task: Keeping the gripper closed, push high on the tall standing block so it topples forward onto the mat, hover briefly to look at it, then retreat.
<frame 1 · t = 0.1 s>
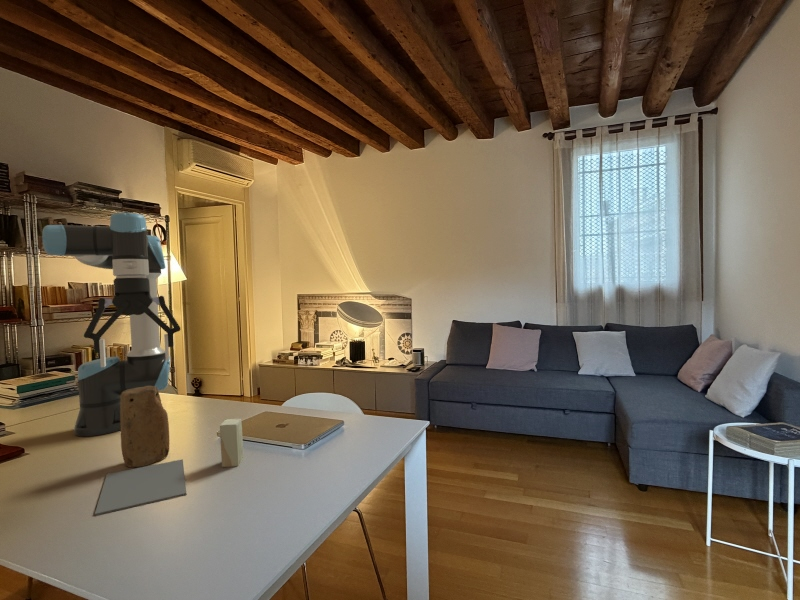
hand: (136, 363, 109), 28 cm above the table, fingers open, 13 cm apart
mat: (144, 484, 104), on the table
box: (232, 463, 115), on the table
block: (147, 462, 118), on the table
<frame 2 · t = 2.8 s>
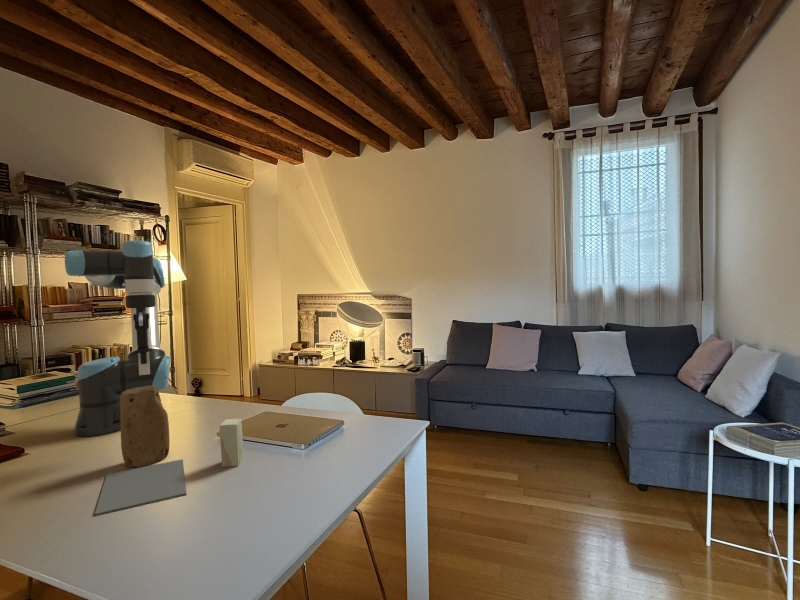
hand: (144, 374, 129), 21 cm above the table, fingers closed
nothing on the table moved.
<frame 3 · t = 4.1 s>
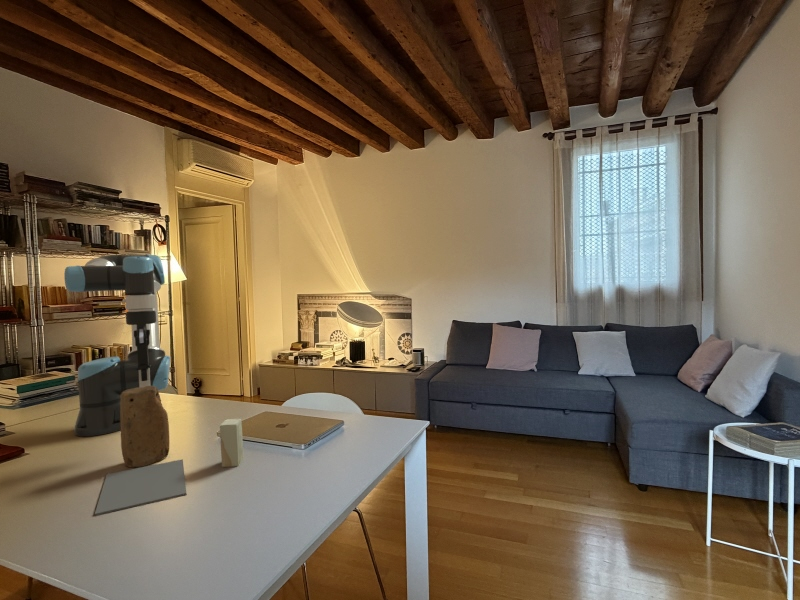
hand: (145, 391, 128), 17 cm above the table, fingers closed
nothing on the table moved.
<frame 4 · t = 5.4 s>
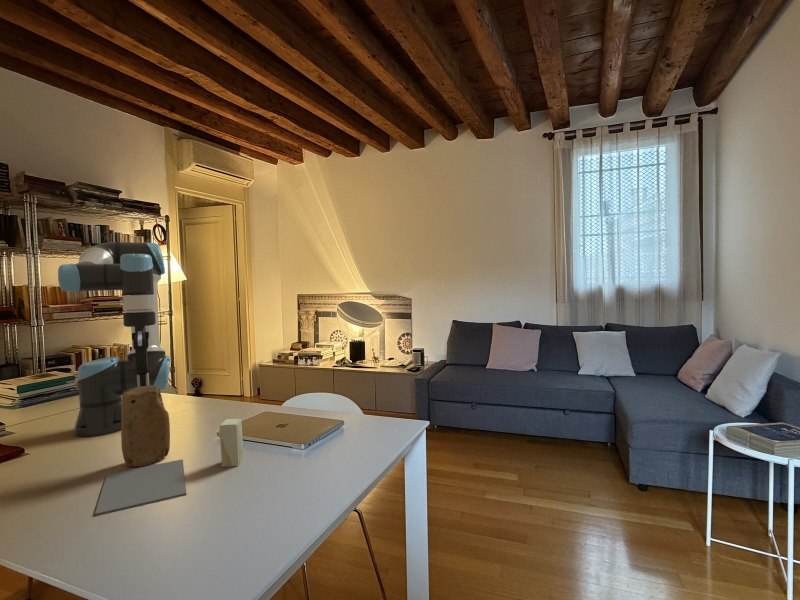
hand: (144, 397, 120), 17 cm above the table, fingers closed
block: (146, 460, 118), on the table, touching gripper
everything else where it was.
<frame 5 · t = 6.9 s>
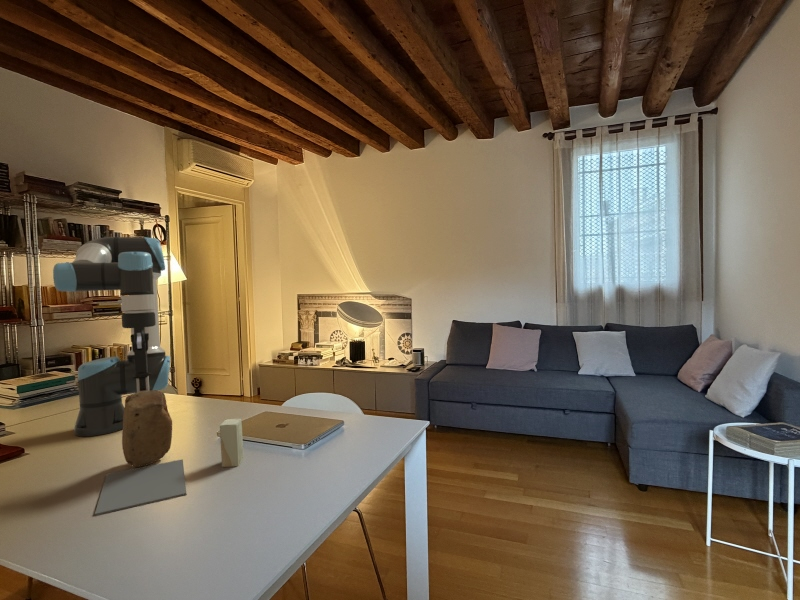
hand: (143, 402, 115), 17 cm above the table, fingers closed
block: (146, 456, 118), point 1 cm above the table, touching gripper
everything else where it was.
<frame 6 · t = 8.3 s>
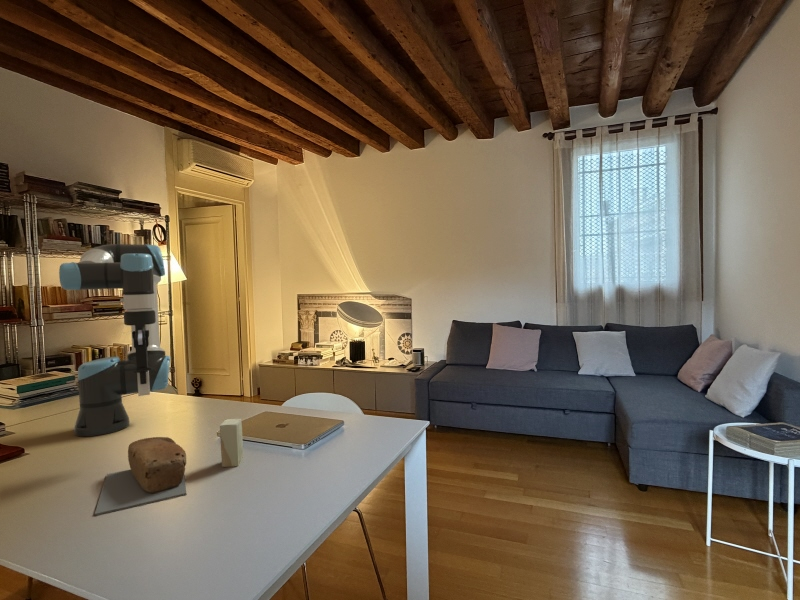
hand: (144, 394, 122), 17 cm above the table, fingers closed
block: (149, 449, 115), point 4 cm above the table, touching mat
everything else where it was.
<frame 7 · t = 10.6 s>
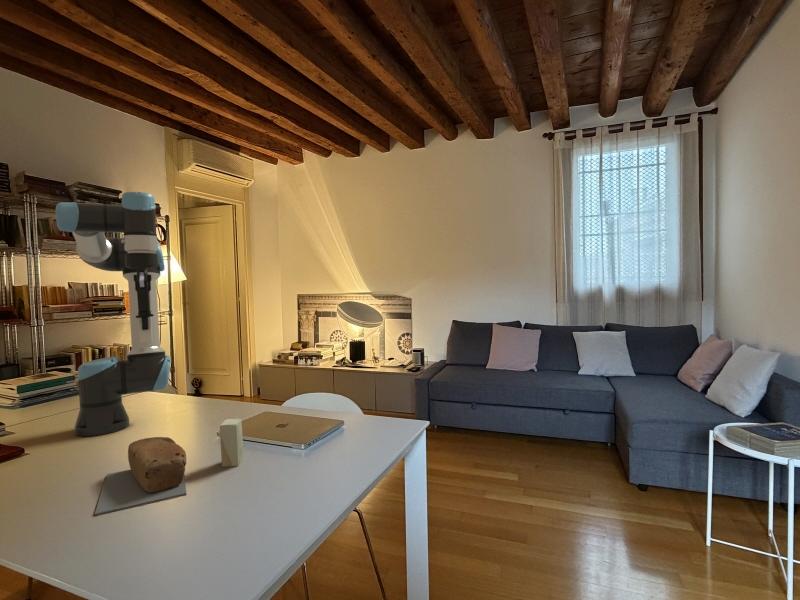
hand: (146, 341, 117), 32 cm above the table, fingers closed
nothing on the table moved.
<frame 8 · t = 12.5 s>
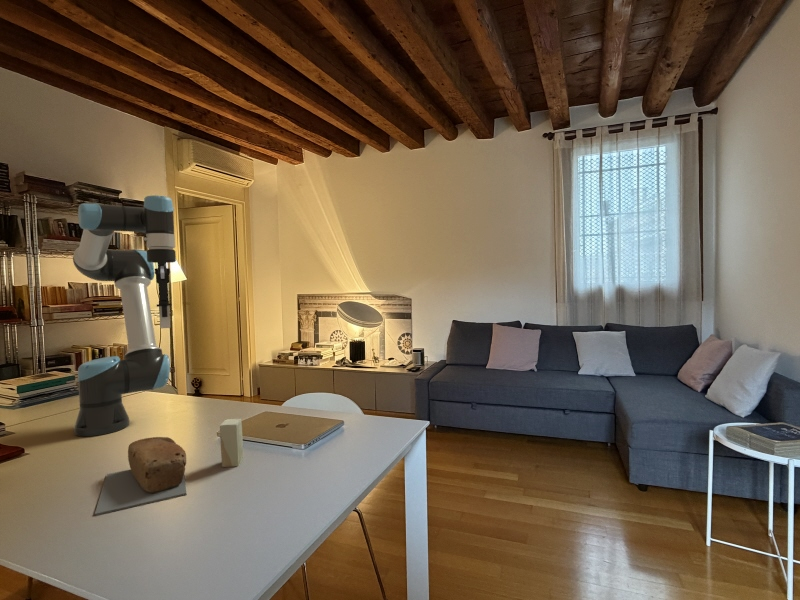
hand: (165, 327, 132), 34 cm above the table, fingers closed
nothing on the table moved.
at the end: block tilted 91°; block touching mat; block inside the target area (6.5 cm from its centre), point 4.2 cm above the table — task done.
